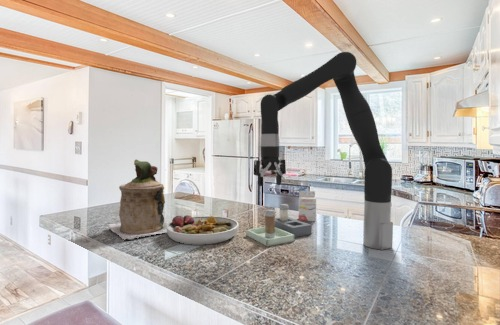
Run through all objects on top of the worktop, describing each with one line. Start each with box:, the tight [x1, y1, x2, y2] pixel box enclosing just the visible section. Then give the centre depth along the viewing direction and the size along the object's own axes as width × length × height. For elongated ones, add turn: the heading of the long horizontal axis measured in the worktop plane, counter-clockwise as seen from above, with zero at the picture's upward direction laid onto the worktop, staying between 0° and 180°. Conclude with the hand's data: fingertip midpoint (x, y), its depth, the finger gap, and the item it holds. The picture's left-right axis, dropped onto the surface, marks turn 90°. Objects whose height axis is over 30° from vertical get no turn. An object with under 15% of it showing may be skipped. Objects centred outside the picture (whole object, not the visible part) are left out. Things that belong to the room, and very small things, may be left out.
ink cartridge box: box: [298, 190, 317, 222], centre depth 152 cm, size 9×5×15 cm, turn 84°
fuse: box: [279, 203, 290, 222], centre depth 136 cm, size 4×4×11 cm
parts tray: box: [245, 226, 296, 248], centre depth 122 cm, size 16×13×2 cm
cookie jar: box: [107, 159, 170, 241], centre depth 133 cm, size 25×25×32 cm
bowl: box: [166, 214, 239, 246], centre depth 126 cm, size 30×30×8 cm
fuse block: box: [275, 216, 313, 238], centre depth 133 cm, size 18×10×4 cm, turn 30°
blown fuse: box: [264, 209, 276, 239], centre depth 122 cm, size 4×4×11 cm
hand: (270, 185), depth 121 cm, fingers open, 8 cm apart
